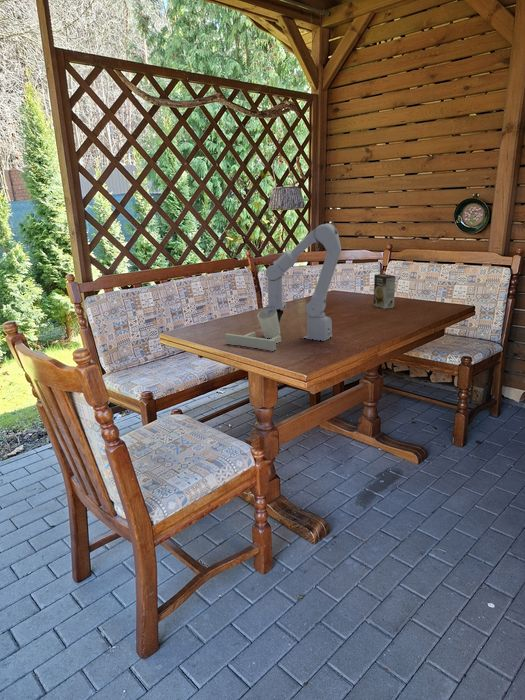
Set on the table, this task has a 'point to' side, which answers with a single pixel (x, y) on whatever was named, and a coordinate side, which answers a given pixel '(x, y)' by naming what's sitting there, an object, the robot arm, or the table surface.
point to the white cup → (269, 324)
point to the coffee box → (384, 291)
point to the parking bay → (253, 341)
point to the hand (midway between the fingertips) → (275, 327)
